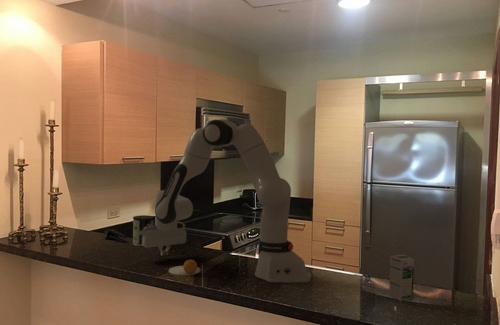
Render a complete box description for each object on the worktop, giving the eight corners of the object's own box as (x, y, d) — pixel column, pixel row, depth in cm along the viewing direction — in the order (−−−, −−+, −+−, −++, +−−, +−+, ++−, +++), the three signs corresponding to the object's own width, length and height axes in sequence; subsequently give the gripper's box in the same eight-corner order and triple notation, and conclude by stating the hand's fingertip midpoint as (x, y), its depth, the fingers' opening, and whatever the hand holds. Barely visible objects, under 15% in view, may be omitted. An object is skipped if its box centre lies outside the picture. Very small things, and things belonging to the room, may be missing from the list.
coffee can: (156, 242, 215) (156, 215, 215) (147, 246, 205) (148, 218, 205) (138, 240, 217) (138, 214, 217) (128, 245, 207) (129, 217, 207)
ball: (201, 262, 164) (196, 269, 167) (190, 254, 164) (185, 261, 167) (195, 271, 159) (190, 278, 162) (183, 263, 159) (179, 271, 163)
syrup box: (400, 301, 138) (402, 259, 138) (388, 295, 144) (390, 255, 143) (413, 299, 141) (415, 257, 140) (400, 293, 146) (402, 253, 146)
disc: (203, 267, 172) (203, 266, 172) (196, 276, 159) (196, 275, 159) (174, 265, 174) (174, 264, 174) (164, 274, 161) (164, 273, 161)
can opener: (101, 238, 221) (101, 228, 221) (112, 237, 226) (112, 226, 226) (119, 244, 209) (119, 233, 209) (130, 242, 215) (131, 231, 214)
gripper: (145, 227, 175) (144, 259, 175) (188, 223, 187) (187, 253, 187) (140, 225, 180) (139, 256, 180) (182, 221, 192) (181, 250, 192)
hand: (164, 255), depth 184 cm, fingers closed
